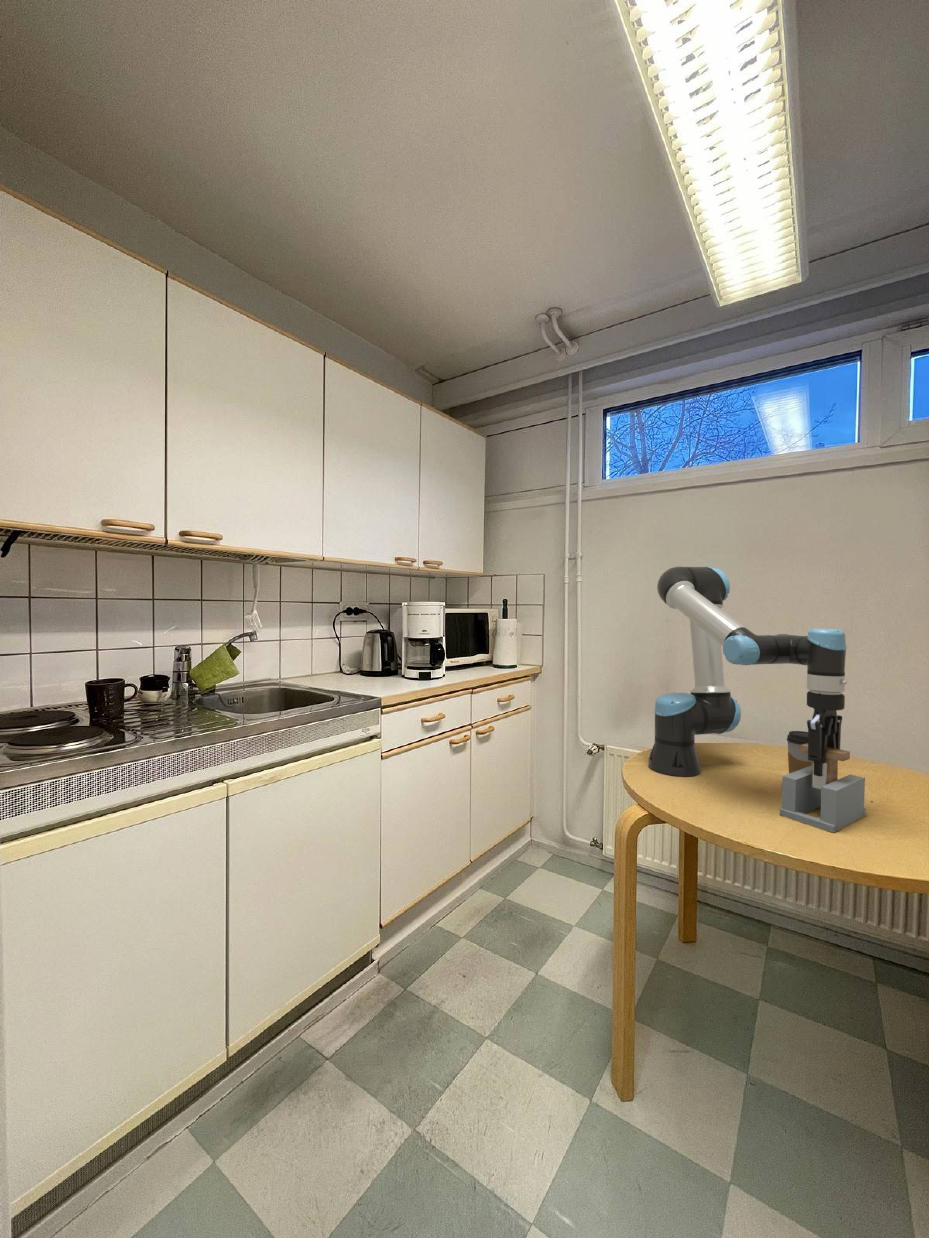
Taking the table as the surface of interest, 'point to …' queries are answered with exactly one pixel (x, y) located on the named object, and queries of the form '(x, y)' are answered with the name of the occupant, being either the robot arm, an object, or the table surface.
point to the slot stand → (823, 800)
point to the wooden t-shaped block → (830, 761)
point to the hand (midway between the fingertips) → (823, 786)
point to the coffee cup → (797, 751)
